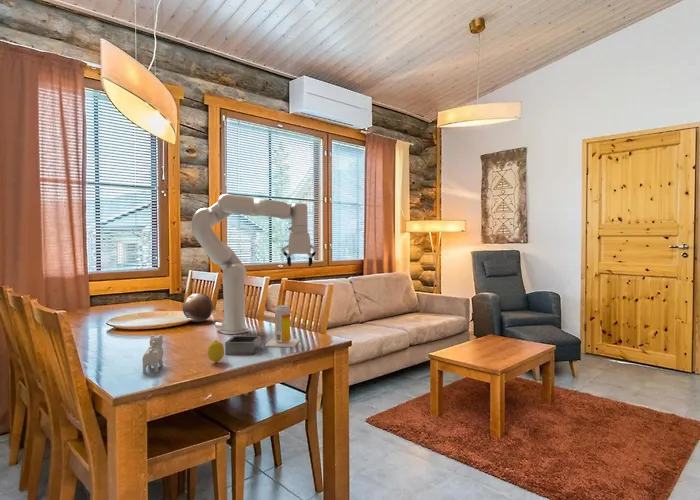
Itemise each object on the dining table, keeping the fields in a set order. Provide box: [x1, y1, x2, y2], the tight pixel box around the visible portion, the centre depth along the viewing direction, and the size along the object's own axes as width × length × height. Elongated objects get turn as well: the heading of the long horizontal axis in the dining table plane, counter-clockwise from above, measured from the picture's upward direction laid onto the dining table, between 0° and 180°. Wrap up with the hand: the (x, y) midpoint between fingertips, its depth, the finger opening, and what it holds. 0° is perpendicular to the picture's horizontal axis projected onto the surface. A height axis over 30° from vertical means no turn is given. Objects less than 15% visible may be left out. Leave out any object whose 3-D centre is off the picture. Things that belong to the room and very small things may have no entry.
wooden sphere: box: [182, 292, 214, 323], centre depth 232 cm, size 15×15×15 cm
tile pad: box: [264, 338, 301, 348], centre depth 185 cm, size 12×12×1 cm
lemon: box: [207, 340, 225, 364], centre depth 156 cm, size 6×6×8 cm
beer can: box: [274, 304, 291, 343], centre depth 185 cm, size 6×6×15 cm
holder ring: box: [224, 335, 262, 356], centre depth 173 cm, size 11×11×4 cm
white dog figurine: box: [141, 334, 164, 374], centre depth 151 cm, size 5×13×11 cm, turn 11°
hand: (299, 266), depth 211 cm, fingers open, 9 cm apart
